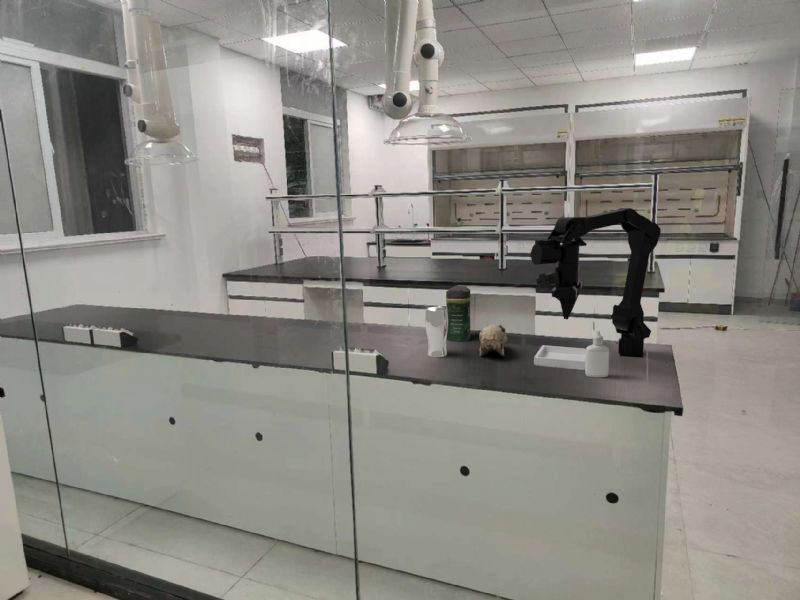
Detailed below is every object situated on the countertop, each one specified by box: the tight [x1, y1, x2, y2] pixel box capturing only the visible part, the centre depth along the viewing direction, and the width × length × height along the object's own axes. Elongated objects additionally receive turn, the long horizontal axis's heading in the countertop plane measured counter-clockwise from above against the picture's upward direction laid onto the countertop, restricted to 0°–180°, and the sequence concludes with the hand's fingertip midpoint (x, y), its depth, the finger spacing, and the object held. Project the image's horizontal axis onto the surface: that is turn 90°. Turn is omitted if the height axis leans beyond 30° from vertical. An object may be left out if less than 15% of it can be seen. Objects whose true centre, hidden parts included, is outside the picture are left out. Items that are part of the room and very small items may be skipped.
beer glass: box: [424, 305, 448, 358], centre depth 163 cm, size 7×7×15 cm
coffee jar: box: [445, 285, 471, 343], centre depth 182 cm, size 10×8×19 cm
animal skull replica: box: [478, 323, 508, 358], centre depth 164 cm, size 8×17×10 cm, turn 161°
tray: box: [533, 344, 586, 371], centre depth 156 cm, size 14×14×2 cm
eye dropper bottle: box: [584, 330, 610, 379], centre depth 141 cm, size 4×6×12 cm
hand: (566, 317), depth 153 cm, fingers open, 3 cm apart
